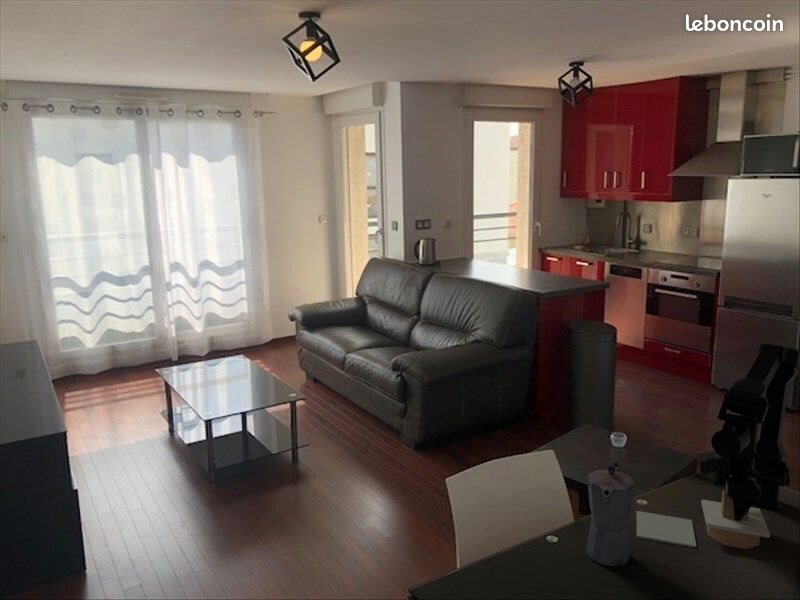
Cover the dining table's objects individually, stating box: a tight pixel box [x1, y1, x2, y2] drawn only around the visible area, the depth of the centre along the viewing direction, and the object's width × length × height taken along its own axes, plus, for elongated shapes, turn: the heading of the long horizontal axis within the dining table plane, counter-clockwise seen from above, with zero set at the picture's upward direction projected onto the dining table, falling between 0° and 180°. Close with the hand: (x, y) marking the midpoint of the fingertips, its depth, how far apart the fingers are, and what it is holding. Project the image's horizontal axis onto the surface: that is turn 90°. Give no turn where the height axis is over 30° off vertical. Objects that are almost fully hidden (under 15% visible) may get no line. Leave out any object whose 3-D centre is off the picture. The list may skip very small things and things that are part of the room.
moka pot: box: [585, 462, 637, 567], centre depth 131 cm, size 10×15×20 cm, turn 158°
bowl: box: [706, 526, 761, 550], centre depth 140 cm, size 10×10×4 cm
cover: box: [700, 489, 771, 538], centre depth 139 cm, size 12×12×6 cm
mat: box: [636, 510, 697, 549], centre depth 143 cm, size 12×12×1 cm
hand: (734, 511), depth 139 cm, fingers open, 8 cm apart
